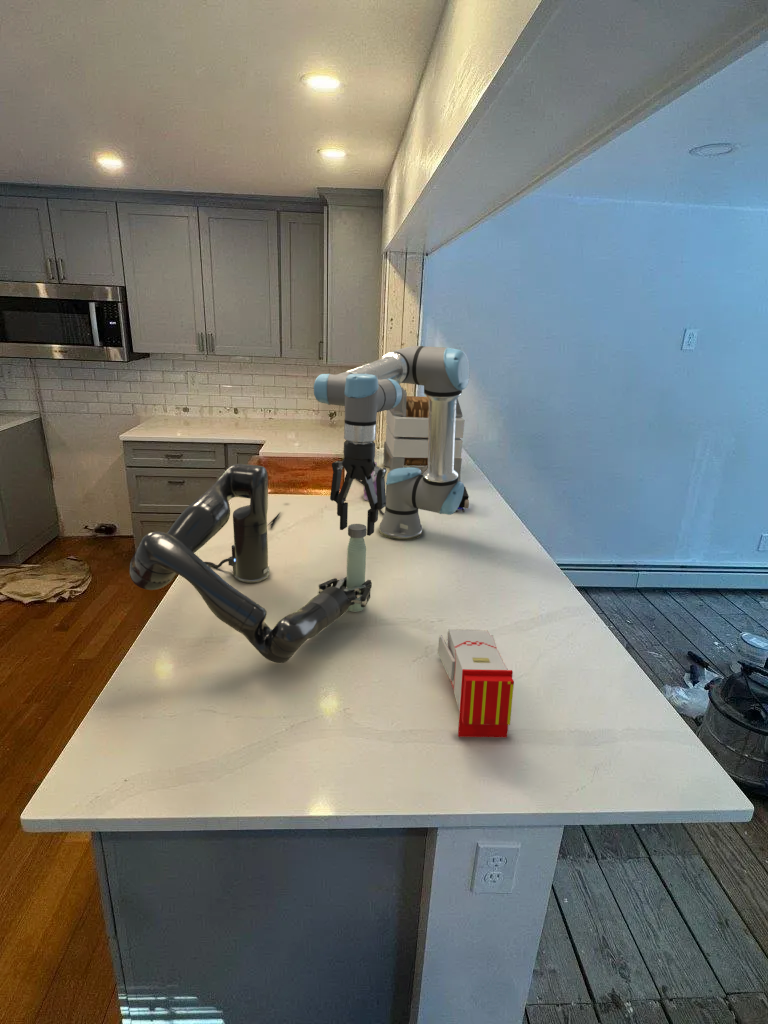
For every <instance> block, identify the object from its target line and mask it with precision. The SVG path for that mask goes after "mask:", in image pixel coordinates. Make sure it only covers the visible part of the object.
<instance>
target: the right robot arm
mask: <svg viewBox="0 0 768 1024" xmlns="http://www.w3.org/2000/svg"><path fill="white" fill-rule="evenodd" d="M470 369H471V368H470V362H469V358H468V355H467V354H466V353H465V351H463V350H462V349H459V348H453V347H445V346H426V345H425V346H424V345H412V346H406V347H402V348H399V349H395V350H393V351H390V352H386V353H385V354H384V355H383V356H382V357H381V358H380V359H376V360H375V361H371V362H369V363H366V364H363V365H361V366H357V367H355V368H351V369H349V370H346V371H344V372H340V373H336V374H332V373H321V374H319V375H318V376H317V377H316V378H315V381H314V383H313V395H314V398H315V400H316V401H317V402H319V403H321V404H325V405H326V404H327V405H329V406H331V405H333V406H340V407H344V426H343V427H344V428H343V440H344V442H343V459H342V460H341V461H340V460H336V461H334V462H332V463H331V468H332V472H333V473H332V478H331V486H330V494H329V495H330V496H329V499H330V501H332V502H333V501H334V502H335V503H336V511H337V512H336V514H337V517H339V531H344V530H345V529H347V528H348V518H349V517H348V516H349V513H348V512H349V511H348V510H349V503H348V502H346V501H347V497H348V494H349V493H350V489H351V486H352V485H353V481H354V480H356V481H358V482H359V483H361V484H362V485H363V488H364V487H365V490H366V494H367V497H368V500H367V501H368V504H369V509H368V510H367V519H366V520H367V521H366V529H367V531H366V536H367V537H370V536H371V535H373V534H374V533H375V523H377V522H378V521H379V513H380V514H381V515H382V519H381V522H379V525H378V533H379V534H380V535H381V536H382V537H385V538H387V539H389V540H395V541H410V540H415V539H418V538H420V537H421V536H422V535H423V525H422V524H421V518H420V515H419V510H421V511H427V512H432V513H437V514H439V515H442V514H443V515H448V516H450V515H453V514H454V513H456V510H457V511H458V507H459V505H460V502H461V500H462V497H463V492H464V487H465V485H464V482H463V481H461V480H460V481H458V473H457V472H456V471H455V470H454V452H455V426H456V401H457V398H458V399H459V397H460V396H461V395H462V393H463V390H465V389H466V388H467V387H468V385H469V379H470V376H471V375H470V373H471V371H470ZM400 384H408V385H409V384H410V385H417V386H423V394H424V395H425V397H428V398H429V416H428V466H427V469H426V470H424V471H423V473H422V470H421V468H419V467H415V466H411V467H410V466H406V467H405V466H404V468H397V469H393V470H391V471H390V470H389V471H388V473H387V468H386V467H380V466H378V465H377V466H376V464H375V462H376V461H375V460H376V459H375V458H376V442H375V441H376V438H377V437H376V436H377V415H378V414H377V413H380V412H384V411H387V410H390V409H392V408H394V407H396V406H397V405H398V404H399V403H400V401H401V398H402V390H401V387H402V386H401V385H400ZM400 386H401V387H400ZM343 469H344V470H345V472H346V473H345V475H344V479H343V480H344V481H343V483H342V475H343ZM373 471H375V476H377V477H376V488H377V496H376V493H375V489H374V486H373V482H372V481H373V479H372V475H371V474H372V472H373ZM386 474H387V475H386ZM385 477H386V478H385ZM341 483H342V486H341ZM384 508H385V509H384ZM383 509H384V511H382V510H383Z"/></svg>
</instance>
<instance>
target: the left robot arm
mask: <svg viewBox="0 0 768 1024" xmlns="http://www.w3.org/2000/svg"><path fill="white" fill-rule="evenodd" d="M233 498H234V499H235V498H241V499H249V500H250V501H249V504H248V505H244V506H240V507H237V508H236V509H235V510H234V511H233V513H232V527H233V543H234V544H232V545H231V556H230V557H228V558H225V559H222V560H221V561H220V562H219V563H218V564H216V563H214V562H211V561H204V560H202V559H201V558H200V557H199V556H198V555H197V554H196V552H197V551H199V550H200V549H201V548H203V546H204V545H206V544H208V542H209V541H210V540H211V539H212V538H213V537H214V536H216V535H217V534H218V533H219V532H220V531H221V530H222V529H223V528H224V527H225V526H226V525H227V523H228V522H229V519H230V516H231V507H230V502H229V501H230V500H231V499H233ZM268 498H269V475H268V471H267V469H266V468H265V466H263V465H257V464H247V463H234V464H231V465H230V466H229V467H227V468H226V469H225V470H224V472H223V473H222V475H220V476H219V478H218V479H217V480H216V481H215V482H214V483H213V484H212V485H211V486H210V487H209V488H208V489H207V490H206V491H205V492H203V493H202V494H201V495H199V497H197V498H196V499H194V501H192V502H191V503H190V504H188V506H186V508H185V509H184V510H182V512H181V514H179V516H178V517H177V518H176V520H175V521H174V523H173V524H172V525H171V527H170V528H169V530H168V531H167V532H164V531H157V530H156V531H151V532H149V533H147V534H145V535H143V537H142V538H141V540H140V542H139V543H138V546H137V548H136V549H135V552H134V554H133V555H132V558H131V560H130V563H129V569H128V573H129V577H130V579H131V581H132V583H133V584H134V585H135V586H137V587H138V588H140V589H142V590H149V591H153V590H154V591H155V590H159V589H162V588H164V587H165V586H167V585H169V584H170V583H171V582H172V580H173V579H174V578H175V576H176V575H179V576H180V577H182V578H183V579H185V580H186V581H187V582H189V583H190V584H191V586H192V587H194V589H195V590H196V591H197V593H198V594H199V595H200V597H201V598H202V600H203V601H204V603H205V604H206V605H207V607H208V608H209V610H210V611H211V612H212V613H213V614H214V616H215V617H216V618H218V619H219V621H221V622H223V624H225V625H227V626H229V627H230V628H231V629H233V630H235V631H237V632H238V633H240V634H241V635H243V636H244V637H245V638H246V639H247V641H248V642H249V643H250V644H251V646H252V647H254V648H255V650H256V651H257V652H259V654H260V655H261V656H262V657H263V658H264V659H266V660H268V661H269V662H272V663H275V664H284V663H287V662H288V661H289V660H290V659H292V657H293V656H294V655H295V654H296V652H297V651H298V650H299V649H300V648H301V647H302V646H303V645H304V644H305V643H306V641H308V640H310V639H312V638H315V637H316V636H317V635H318V634H319V633H321V632H322V631H323V630H324V629H326V628H327V627H329V626H330V625H332V624H333V623H335V622H336V621H337V620H338V619H339V618H340V617H342V616H343V615H344V614H345V613H347V611H348V610H347V609H348V608H349V606H351V605H354V604H355V603H357V604H361V607H364V608H366V607H367V605H368V603H369V601H370V599H371V590H372V580H371V579H367V580H365V582H364V583H363V584H362V585H361V586H359V587H357V586H354V587H351V588H346V585H347V575H346V576H345V577H344V578H340V579H338V578H335V577H333V578H331V579H328V580H327V581H324V582H322V583H319V584H318V594H317V595H315V596H314V597H312V598H311V599H310V600H309V601H308V602H306V604H305V605H303V606H301V607H300V608H299V609H298V610H297V611H294V612H292V613H289V614H288V615H285V616H284V617H282V618H281V619H280V620H279V621H277V623H276V624H275V625H274V627H272V628H271V627H270V626H269V625H268V624H267V623H266V619H267V615H268V612H267V610H266V608H265V607H263V606H262V605H261V604H260V603H258V602H257V601H255V600H254V599H252V598H250V597H249V596H247V595H246V594H244V593H242V592H241V591H239V590H238V589H236V588H235V587H234V586H232V585H231V584H230V583H228V582H227V581H226V580H225V579H223V578H222V577H221V576H220V575H219V574H218V573H217V572H216V571H214V570H213V568H214V569H219V568H220V567H222V566H223V564H225V563H228V566H231V567H232V576H233V577H235V579H236V580H237V581H239V582H241V583H244V584H245V583H246V584H254V583H260V582H263V581H265V580H266V579H268V578H269V576H270V572H269V571H270V566H269V545H268V526H267V525H268V508H269V499H268ZM210 566H212V567H213V568H212V567H210ZM360 590H361V592H360ZM359 592H360V593H359Z"/></svg>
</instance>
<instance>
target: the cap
mask: <svg viewBox="0 0 768 1024" xmlns="http://www.w3.org/2000/svg"><path fill="white" fill-rule="evenodd" d="M347 535H348V536H349V538H350V537H353V538H363V537H364V538H366V536H367V525H365V524H362V523H351V524H349V525H347Z"/></svg>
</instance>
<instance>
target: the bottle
mask: <svg viewBox="0 0 768 1024" xmlns="http://www.w3.org/2000/svg"><path fill="white" fill-rule="evenodd" d="M366 561H367V545H366V541H365V537H363V538H353V537H350V536H349V541H348V544H347V549H346V576H347V585H346V588H351V587H354V586H357V587H359V586H361V585H362V584H363V583H364V582H366V565H367V564H366ZM360 592H361V590H360ZM360 592H359V593H360ZM364 608H365V607H361V604H357V603H355V604H354V605H351V606H349V608H348V609H347V611H349V612H353V613H359V612H361V611H363V610H364Z"/></svg>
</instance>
